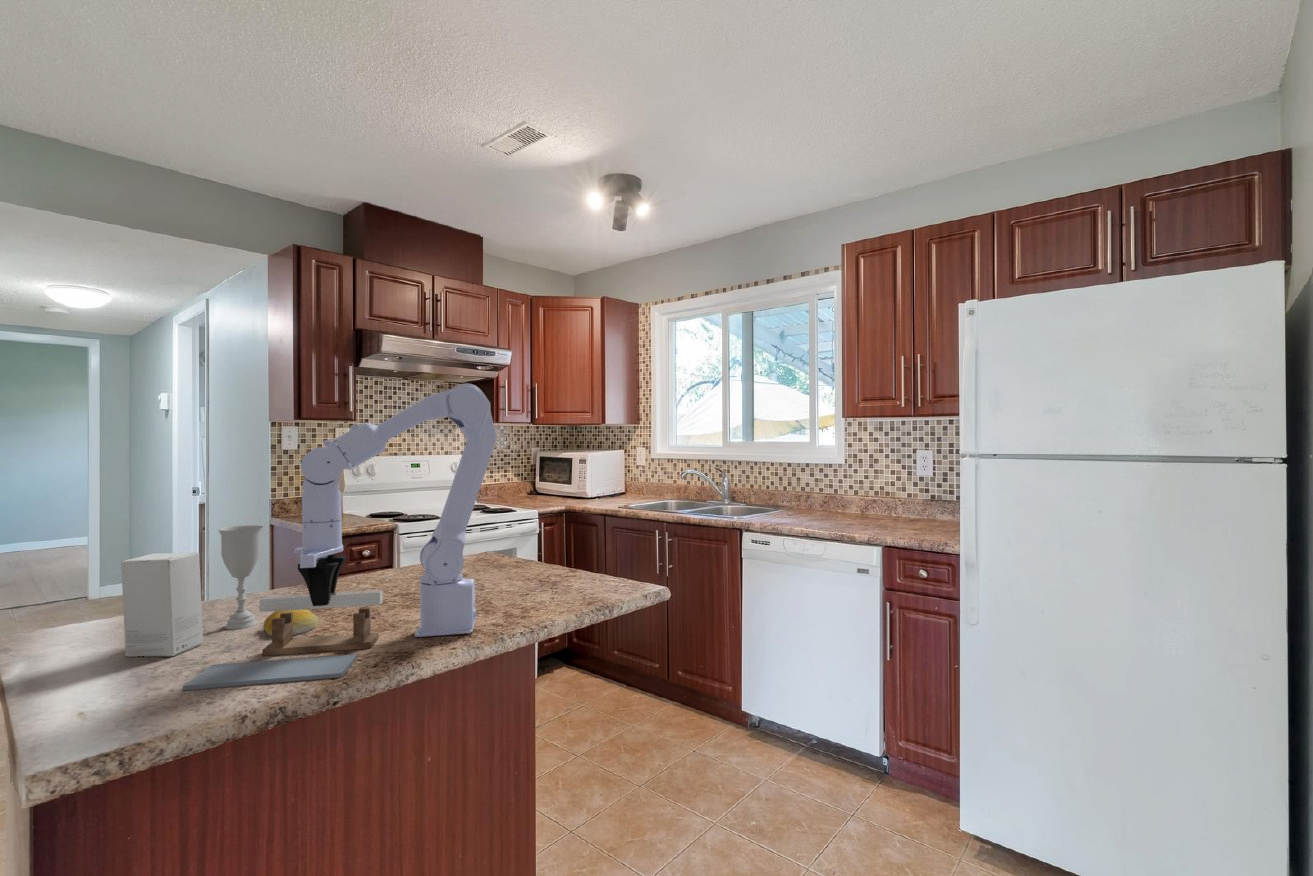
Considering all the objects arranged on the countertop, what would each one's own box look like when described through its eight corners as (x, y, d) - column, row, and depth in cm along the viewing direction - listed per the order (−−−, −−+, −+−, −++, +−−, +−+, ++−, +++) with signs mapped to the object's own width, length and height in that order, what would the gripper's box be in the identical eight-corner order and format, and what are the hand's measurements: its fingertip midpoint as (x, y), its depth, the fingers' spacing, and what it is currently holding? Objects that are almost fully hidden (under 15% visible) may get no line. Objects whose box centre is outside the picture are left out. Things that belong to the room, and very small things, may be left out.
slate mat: (357, 658, 95) (357, 654, 95) (341, 677, 87) (341, 673, 87) (212, 669, 91) (212, 665, 91) (182, 690, 83) (182, 686, 83)
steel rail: (382, 601, 103) (382, 589, 103) (379, 604, 101) (379, 592, 101) (264, 608, 100) (264, 596, 100) (259, 612, 98) (259, 599, 98)
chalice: (209, 628, 111) (208, 529, 111) (246, 618, 118) (245, 524, 118) (235, 632, 109) (235, 531, 109) (272, 622, 115) (272, 526, 115)
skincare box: (204, 644, 102) (203, 551, 102) (170, 658, 96) (169, 559, 96) (156, 644, 103) (156, 551, 103) (120, 658, 96) (119, 559, 96)
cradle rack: (378, 638, 104) (378, 606, 105) (371, 648, 100) (371, 614, 100) (275, 645, 101) (275, 612, 101) (262, 656, 96) (262, 621, 96)
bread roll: (269, 641, 104) (269, 618, 104) (260, 629, 111) (260, 607, 111) (323, 631, 110) (322, 609, 110) (312, 620, 116) (311, 599, 116)
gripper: (310, 516, 107) (311, 594, 107) (277, 527, 93) (278, 617, 93) (354, 515, 108) (355, 591, 108) (328, 525, 94) (329, 614, 94)
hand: (323, 603), depth 100 cm, fingers closed on steel rail, 2 cm apart
